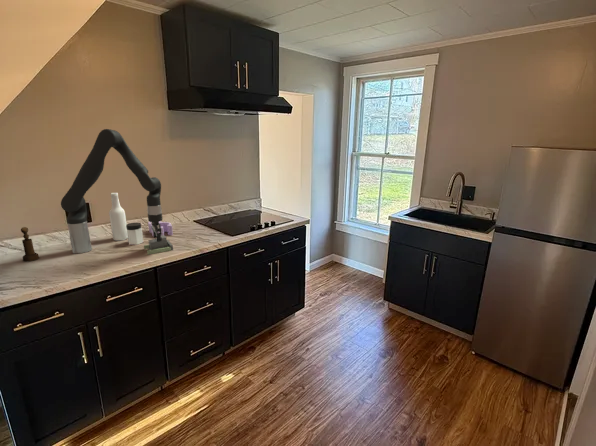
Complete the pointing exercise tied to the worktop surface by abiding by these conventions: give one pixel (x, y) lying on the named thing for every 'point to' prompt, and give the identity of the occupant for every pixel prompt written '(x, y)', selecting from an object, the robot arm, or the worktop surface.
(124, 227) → the alcohol
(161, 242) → the upright grey block
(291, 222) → the worktop surface
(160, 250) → the deck socket
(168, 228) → the clip
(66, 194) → the robot arm
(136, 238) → the jar
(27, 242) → the brown chess pawn
